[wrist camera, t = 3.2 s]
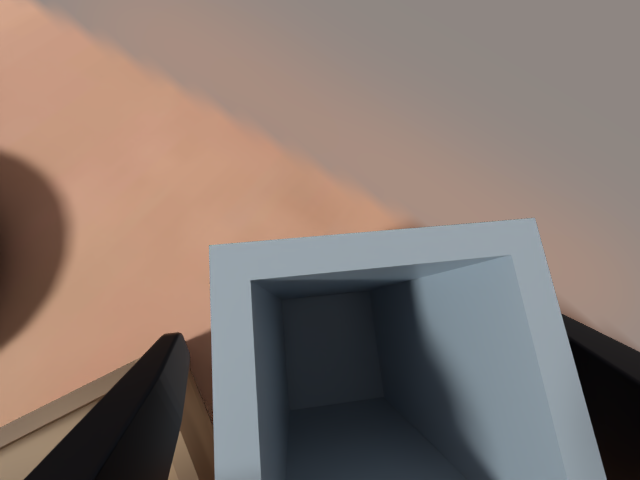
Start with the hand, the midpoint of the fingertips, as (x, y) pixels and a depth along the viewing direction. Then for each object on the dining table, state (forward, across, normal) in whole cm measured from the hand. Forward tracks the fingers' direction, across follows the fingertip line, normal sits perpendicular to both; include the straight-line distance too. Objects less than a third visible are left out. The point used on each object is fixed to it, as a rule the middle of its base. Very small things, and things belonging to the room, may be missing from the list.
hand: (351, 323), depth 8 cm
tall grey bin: (+4, 0, +6) cm, 7 cm away
